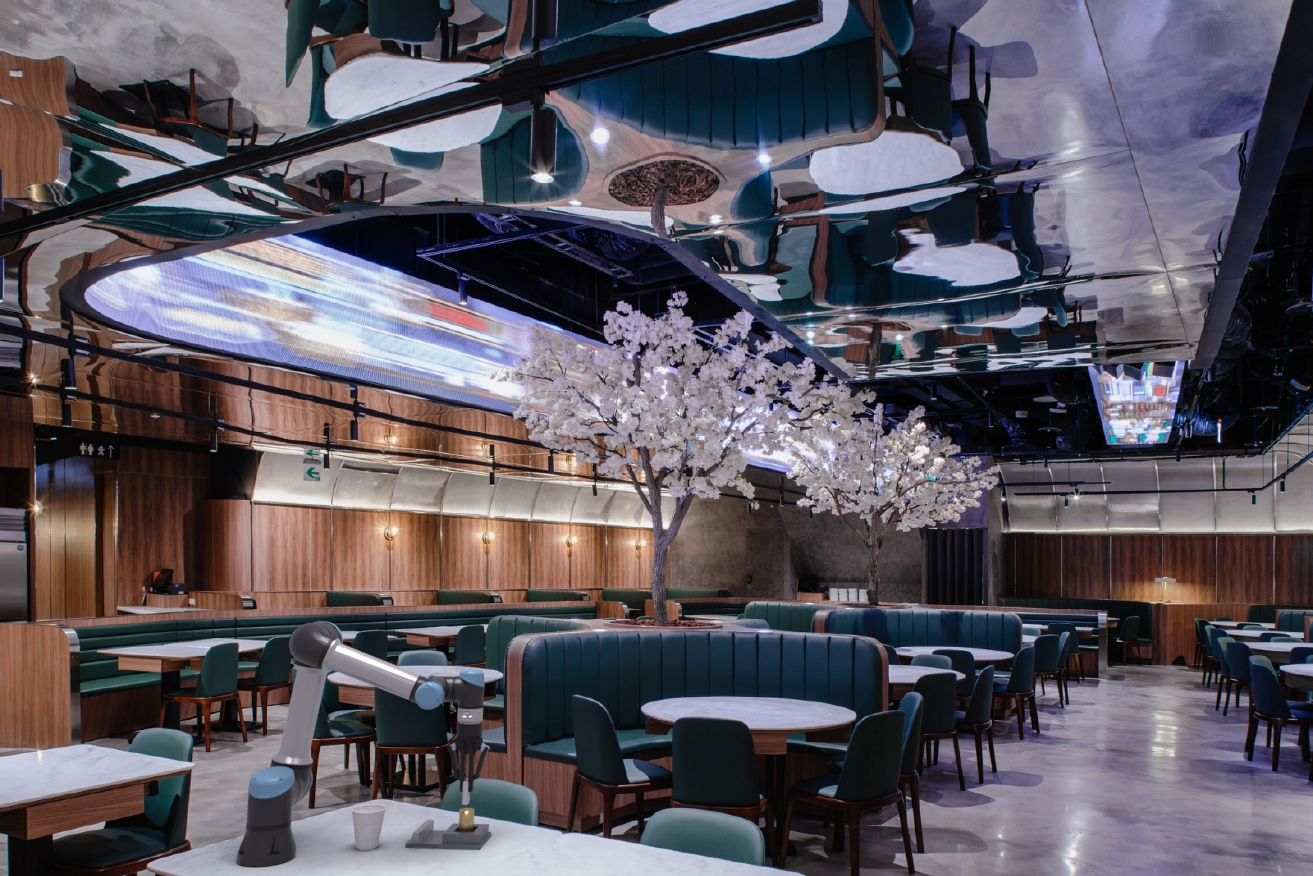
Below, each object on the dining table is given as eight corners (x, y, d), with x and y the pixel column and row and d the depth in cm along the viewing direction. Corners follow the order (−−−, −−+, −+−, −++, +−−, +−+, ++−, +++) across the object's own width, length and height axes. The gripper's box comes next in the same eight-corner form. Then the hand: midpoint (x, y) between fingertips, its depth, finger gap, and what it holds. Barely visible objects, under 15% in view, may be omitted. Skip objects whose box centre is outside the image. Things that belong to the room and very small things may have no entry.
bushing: (456, 839, 264) (457, 811, 265) (460, 835, 268) (461, 807, 269) (471, 840, 263) (472, 811, 265) (474, 836, 268) (475, 808, 269)
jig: (405, 847, 260) (405, 832, 260) (420, 834, 273) (421, 819, 274) (479, 849, 258) (480, 834, 259) (491, 835, 272) (491, 821, 273)
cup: (373, 854, 253) (375, 813, 255) (342, 851, 255) (344, 811, 257) (390, 844, 263) (392, 805, 265) (360, 841, 265) (362, 803, 267)
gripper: (445, 723, 268) (440, 805, 264) (487, 724, 267) (483, 807, 263) (452, 719, 275) (448, 799, 272) (493, 720, 274) (490, 801, 271)
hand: (465, 803), depth 268 cm, fingers closed
